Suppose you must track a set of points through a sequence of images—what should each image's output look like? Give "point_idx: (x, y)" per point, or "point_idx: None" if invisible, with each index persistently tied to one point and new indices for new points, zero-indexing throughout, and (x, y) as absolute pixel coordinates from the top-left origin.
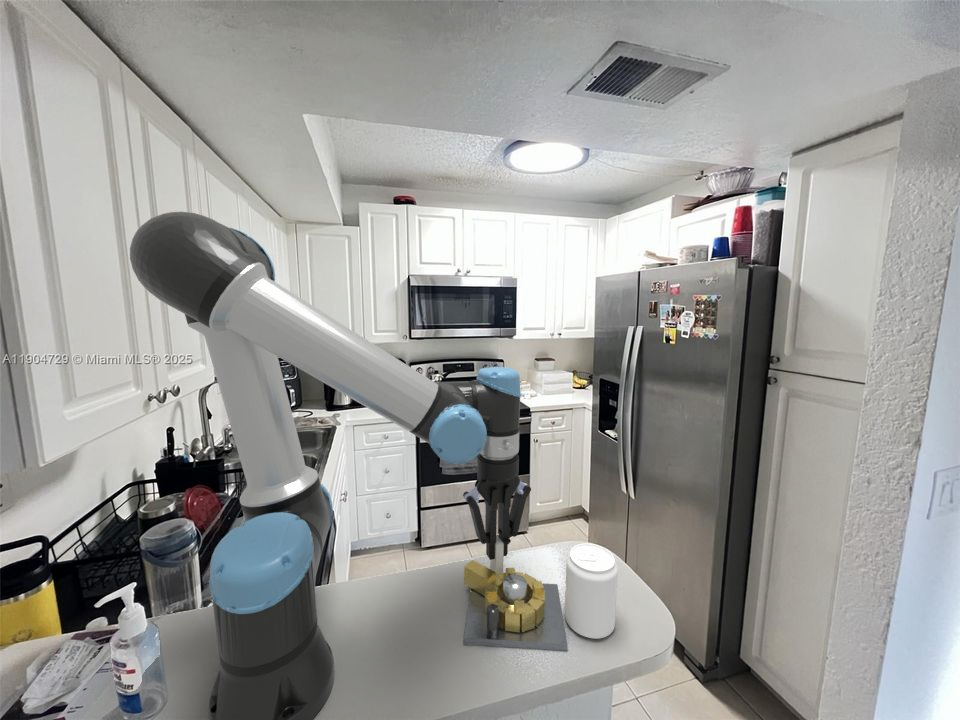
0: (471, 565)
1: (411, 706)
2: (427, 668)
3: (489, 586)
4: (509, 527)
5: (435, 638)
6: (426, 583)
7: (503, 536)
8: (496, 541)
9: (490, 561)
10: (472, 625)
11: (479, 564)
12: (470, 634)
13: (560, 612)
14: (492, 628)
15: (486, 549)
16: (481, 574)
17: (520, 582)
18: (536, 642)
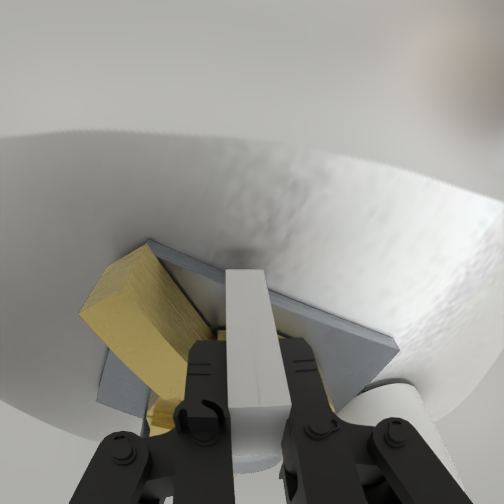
0: (112, 321)
1: (34, 414)
2: (41, 391)
3: (160, 431)
4: (374, 473)
5: (43, 355)
6: (8, 174)
7: (286, 489)
8: (248, 438)
9: (226, 291)
10: (115, 390)
11: (150, 331)
12: (109, 401)
13: (334, 412)
14: None
15: (187, 375)
16: (146, 376)
17: (258, 462)
18: None
